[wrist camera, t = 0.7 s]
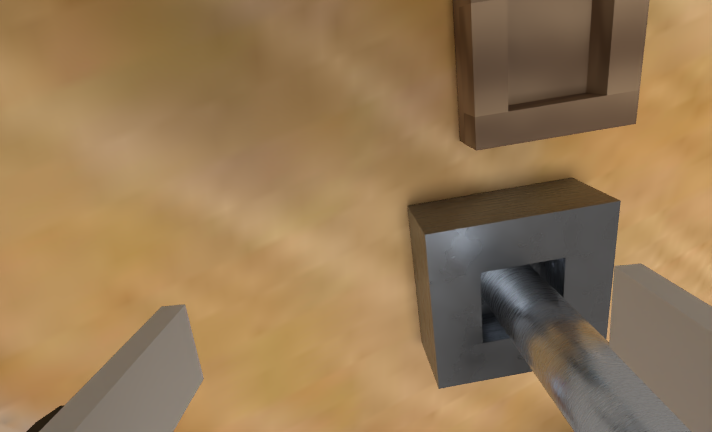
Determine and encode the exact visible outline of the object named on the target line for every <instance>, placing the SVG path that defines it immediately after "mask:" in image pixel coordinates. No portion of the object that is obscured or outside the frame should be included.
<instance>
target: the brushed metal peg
mask: <svg viewBox="0 0 712 432" xmlns="http://www.w3.org/2000/svg"><path fill="white" fill-rule="evenodd" d="M480 280H481V297H482V298H483V300H484V301H485V302H486V304H487V305H488V307H489V308H490V310H491V311H492V313H493V314H494V316H495V317H496V318H497V320H498V321H499V323H500V324H501V326H502V327H503V329H504V330H505V331H506V333H507V334H508V336H509V337H510V339H511V340H512V342H513V343H514V345H515V346H516V347H517V349H518V350H519V352H520V353H521V355H522V356H523V358H524V359H525V361H526V362H527V363H528V365H529V366H530V368H531V369H532V371H533V372H534V374H535V375H536V377H537V378H538V379H539V381H540V382H541V384H542V385H543V387H544V388H545V390H546V391H547V392H548V394H549V395H550V397H551V398H552V400H553V401H554V403H555V404H556V406H557V407H558V408H559V410H560V411H561V413H562V414H563V416H564V417H565V419H566V420H567V422H568V423H569V424H570V426H571V427H572V429H573V430H574V432H691V431H690V430H689V429H688V428H687V427H686V426H685V425H684V424H683V423H682V422H681V420H680V419H679V418H678V417H677V416H676V415H675V414H674V413H673V412H672V411H671V410H670V409H669V408H668V407H667V406H666V405H665V404H664V403H663V402H662V401H661V400H660V399H659V398H658V397H657V396H656V395H655V394H654V393H653V392H652V391H651V390H650V388H649V387H648V386H647V385H646V384H645V383H644V382H643V381H642V380H641V379H640V378H639V377H638V376H637V375H636V374H635V373H634V372H633V371H632V370H631V369H630V368H629V367H628V366H627V365H626V364H625V363H624V362H623V361H622V360H621V359H620V357H619V356H618V355H617V354H616V353H615V352H614V351H613V350H612V349H611V348H610V347H609V342H608V341H607V340H606V339H605V338H604V337H603V336H602V335H601V334H600V333H599V332H598V331H597V330H596V329H595V328H594V327H593V326H592V325H591V324H590V323H589V322H588V321H587V320H586V319H585V318H584V317H583V316H582V315H580V314H579V313H578V312H577V311H576V310H575V309H574V308H573V307H572V306H571V305H570V304H569V303H568V302H567V301H566V300H565V299H564V298H563V297H562V296H561V295H560V294H559V293H558V292H557V291H556V290H555V289H554V288H553V287H552V286H551V285H550V284H549V283H548V282H547V281H546V280H545V279H544V278H543V277H542V276H541V275H540V274H539V273H538V272H537V271H535V270H534V269H533V268H532V267H531V266H530V265H529V264H527V265H521V266H515V267H510V268H504V269H499V270H493V271H487V272H482V273H480Z"/></svg>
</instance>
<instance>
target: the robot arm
mask: <svg viewBox="0 0 712 432" xmlns="http://www.w3.org/2000/svg"><path fill="white" fill-rule="evenodd" d="M609 347H610V348H611V349H612V350H613V351H614V352H615V353H616V354H617V355H618V356H619V357H620V359H621V360H622V361H623V362H624V363H625V364H626V365H627V366H628V367H629V368H630V369H631V370H632V371H633V372H634V373H635V374H636V375H637V376H638V377H639V378H640V379H641V380H642V381H643V382H644V383H645V384H646V385H647V386H648V387H649V388H650V390H651V391H652V392H653V393H654V394H655V395H656V396H657V397H658V398H659V399H660V400H661V401H662V402H663V403H664V404H665V405H666V406H667V407H668V408H669V409H670V410H671V411H672V412H673V413H674V414H675V415H676V416H677V417H678V418H679V419H680V420H681V422H682V423H683V424H684V425H685V426H686V427H687V428H688V429H689V430H690V431H691V432H712V306H710V305H708V304H707V303H705V302H703V301H702V300H700V299H698V298H697V297H695V296H694V295H692V294H690V293H689V292H687V291H685V290H684V289H682V288H680V287H679V286H677V285H675V284H674V283H672V282H671V281H669V280H667V279H666V278H664V277H662V276H661V275H659V274H657V273H656V272H654V271H652V270H651V269H649V268H648V267H646V266H644V265H643V264H632V265H620V266H615V267H614V281H613V296H612V311H611V325H610V340H609ZM203 379H204V378H203V374H202V370H201V366H200V362H199V358H198V354H197V350H196V346H195V342H194V338H193V334H192V330H191V326H190V322H189V318H188V314H187V310H186V306H185V305H174V306H162V307H161V308H160V309H159V310H158V311H157V312H156V313H155V314H154V315H153V316H152V317H151V318H150V319H149V320H148V321H147V322H146V323H145V324H144V325H143V326H142V327H141V328H140V329H139V330H138V331H137V332H136V333H135V334H134V335H133V336H132V337H131V338H130V339H129V340H128V341H127V342H126V343H125V344H124V345H123V346H122V347H121V348H120V349H119V350H118V352H117V353H116V354H115V355H114V356H113V357H112V358H111V359H110V360H109V361H108V362H107V363H106V364H105V365H104V366H103V367H102V368H101V369H100V370H99V371H98V372H97V373H96V374H95V375H94V376H93V377H92V378H91V379H90V380H89V381H88V382H87V383H86V384H85V385H84V386H83V387H82V388H81V389H80V390H79V391H78V392H77V393H76V394H75V395H74V396H73V397H72V398H71V400H70V401H69V402H68V403H67V404H66V405H65V406H59V407H58V408H56V409H55V410H53V411H52V412H50V413H49V414H48V415H46V416H45V417H43V418H42V419H40V420H39V421H37V422H36V423H35V424H34V425H33V426H32V427H31V428H30V429H29V430H28V431H27V432H173V431H174V429H175V427H176V426H177V424H178V422H179V420H180V419H181V417H182V415H183V414H184V412H185V410H186V408H187V407H188V405H189V403H190V401H191V400H192V398H193V396H194V395H195V393H196V391H197V389H198V388H199V386H200V384H201V382H202V381H203Z"/></svg>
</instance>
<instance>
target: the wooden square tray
mask: <svg viewBox="0 0 712 432" xmlns="http://www.w3.org/2000/svg"><path fill="white" fill-rule="evenodd" d="M648 9H649V0H453V14H454V33H455V53H456V73H457V92H458V112H459V132H460V141H461V142H463V143H464V144H466V145H468V146H470V147H471V148H473V149H475V150H482V149H488V148H494V147H500V146H506V145H512V144H518V143H524V142H530V141H536V140H542V139H548V138H554V137H560V136H566V135H572V134H578V133H584V132H589V131H595V130H601V129H607V128H613V127H619V126H625V125H631V124H636V117H637V108H638V99H639V90H640V81H641V72H642V63H643V54H644V45H645V36H646V27H647V18H648Z"/></svg>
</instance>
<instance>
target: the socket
mask: <svg viewBox="0 0 712 432" xmlns="http://www.w3.org/2000/svg"><path fill="white" fill-rule="evenodd" d="M407 208H408V217H409V227H410V236H411V245H412V255H413V264H414V274H415V283H416V293H417V302H418V312H419V321H420V331H421V340H422V344H423V347H424V350H425V352H426V355H427V358H428V361H429V363H430V366H431V369H432V371H433V374H434V377H435V379H436V382H437V385H438V388H439V389H440V388H445V387H451V386H456V385H461V384H467V383H472V382H478V381H483V380H488V379H494V378H499V377H504V376H510V375H515V374H521V373H526V372H531V371H532V369H531V368H530V366H529V365H528V363H527V362H526V361H525V359H524V358H523V356H522V355H521V353H520V352H519V350H518V349H517V347H516V346H515V345H514V343H513V342H512V340H511V339H510V337H509V336H508V334H507V333H506V331H505V330H504V329H503V327H502V326H501V324H500V323H499V321H498V320H497V318H496V317H495V316H494V314H493V313H492V311H491V310H490V308H489V307H488V305H487V304H486V302H485V301H484V300H483V298H482V297H481V280H480V273H482V272H487V271H493V270H499V269H504V268H510V267H515V266H521V265H527V264H529V265H530V266H531V267H532V268H533V269H534V270H535V271H537V272H538V273H539V274H540V275H541V276H542V277H543V278H544V279H545V280H546V281H547V282H548V283H549V284H550V285H551V286H552V287H553V288H554V289H555V290H556V291H557V292H558V293H559V294H560V295H561V296H562V297H563V298H564V299H565V300H566V301H567V302H568V303H569V304H570V305H571V306H572V307H573V308H574V309H575V310H576V311H577V312H578V313H579V314H580V315H582V316H583V317H584V318H585V319H586V320H587V321H588V322H589V323H590V324H591V325H592V326H593V327H594V328H595V329H596V330H597V331H598V332H599V333H600V334H601V335H602V336H603V337H604V338H605V339H606V336H607V327H608V317H609V307H610V298H611V288H612V278H613V269H614V259H615V249H616V240H617V230H618V220H619V211H620V200H618V199H616V198H614V197H611V196H609V195H607V194H605V193H603V192H601V191H599V190H597V189H595V188H593V187H590V186H588V185H586V184H584V183H582V182H580V181H578V180H576V179H574V178H568V179H562V180H556V181H550V182H545V183H539V184H533V185H527V186H521V187H515V188H510V189H504V190H498V191H492V192H486V193H480V194H474V195H469V196H463V197H457V198H451V199H445V200H439V201H433V202H428V203H422V204H416V205H410V206H407Z"/></svg>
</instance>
